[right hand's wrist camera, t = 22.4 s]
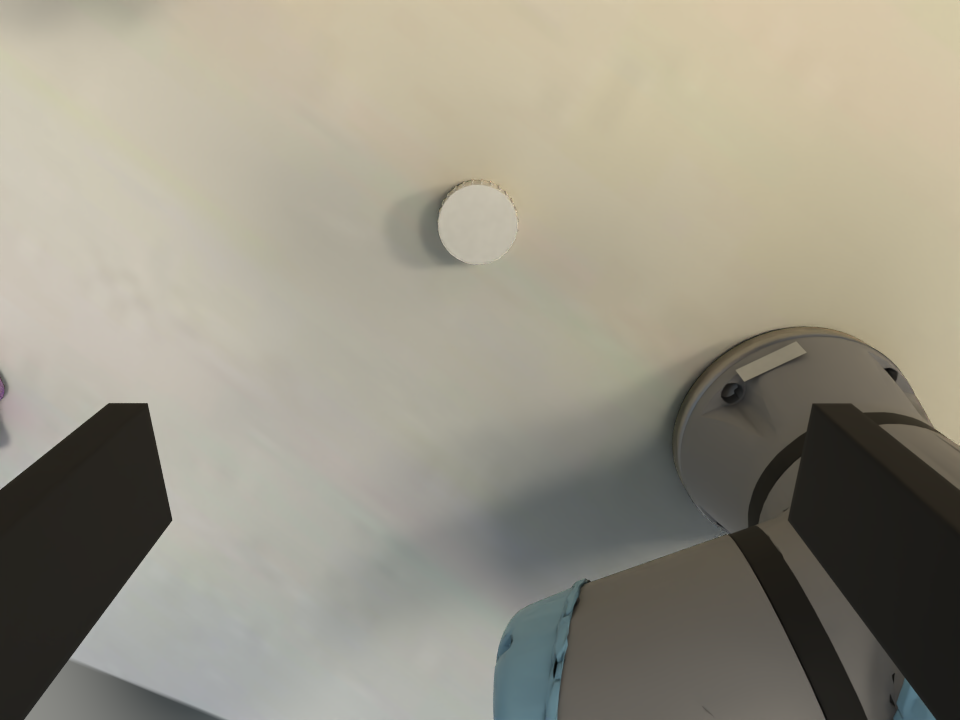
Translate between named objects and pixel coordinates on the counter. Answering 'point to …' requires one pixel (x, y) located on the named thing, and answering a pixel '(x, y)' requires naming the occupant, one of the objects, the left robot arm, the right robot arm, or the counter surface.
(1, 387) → the figurine
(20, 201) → the counter surface
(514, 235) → the lid
